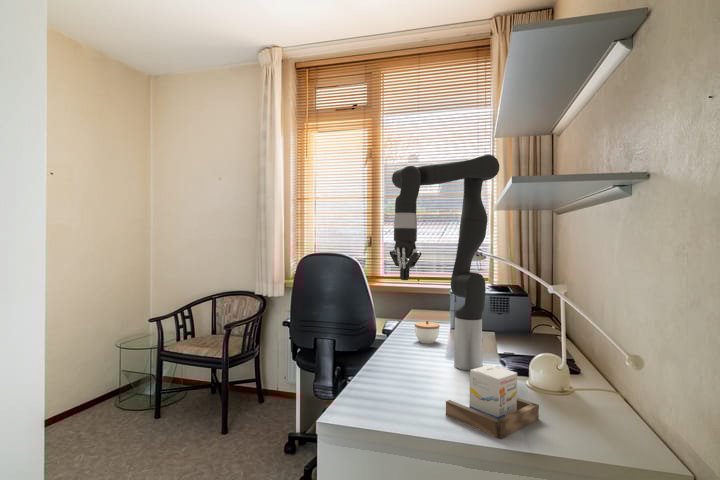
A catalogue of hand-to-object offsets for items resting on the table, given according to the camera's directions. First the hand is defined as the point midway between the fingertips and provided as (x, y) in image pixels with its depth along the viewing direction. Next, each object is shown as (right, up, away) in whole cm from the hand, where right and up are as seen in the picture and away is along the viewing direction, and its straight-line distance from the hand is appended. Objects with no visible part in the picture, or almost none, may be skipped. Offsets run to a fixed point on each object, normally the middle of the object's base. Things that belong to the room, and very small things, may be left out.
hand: (404, 279), depth 132 cm
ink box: (+19, -32, -31) cm, 48 cm away
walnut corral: (+18, -31, -31) cm, 47 cm away
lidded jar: (+15, -32, +43) cm, 55 cm away
